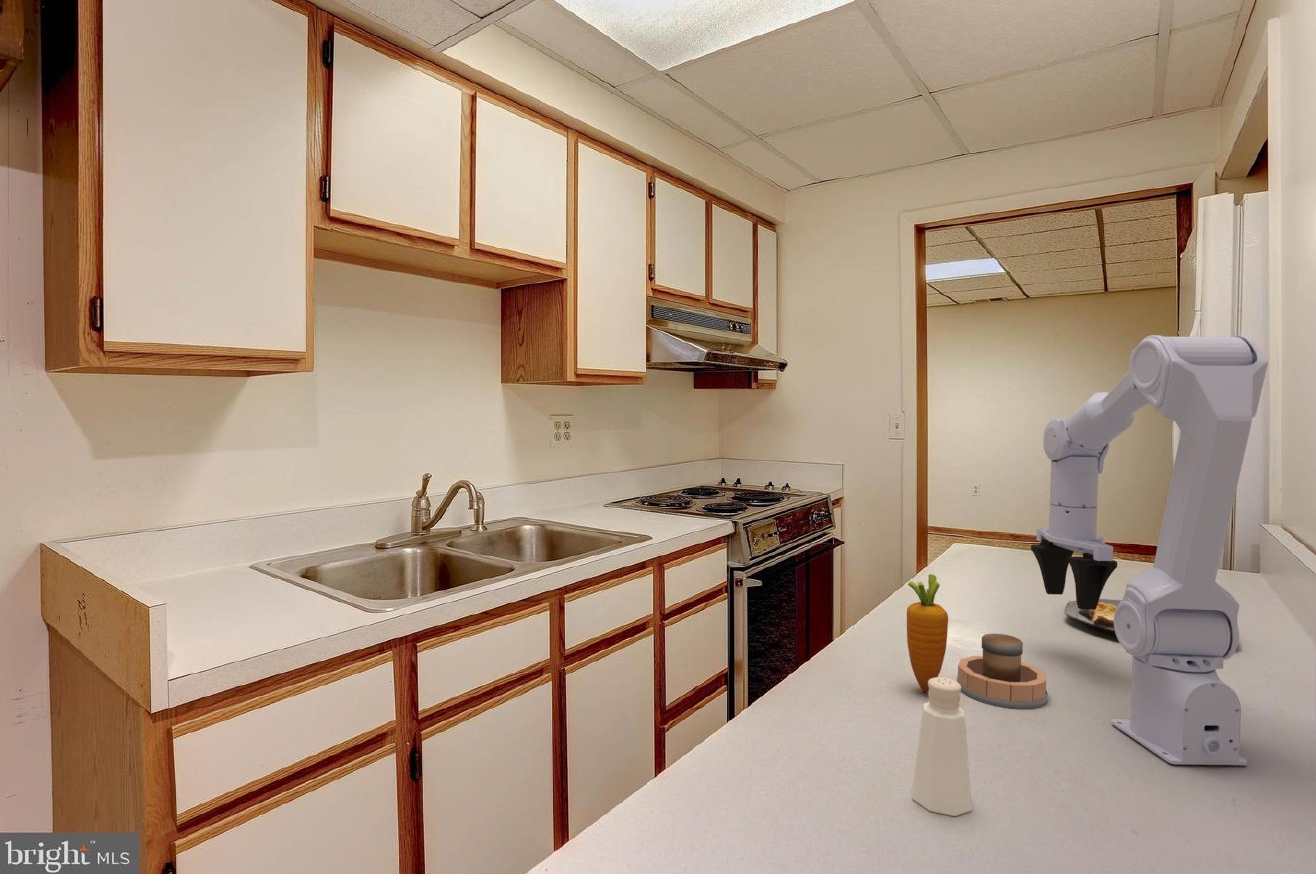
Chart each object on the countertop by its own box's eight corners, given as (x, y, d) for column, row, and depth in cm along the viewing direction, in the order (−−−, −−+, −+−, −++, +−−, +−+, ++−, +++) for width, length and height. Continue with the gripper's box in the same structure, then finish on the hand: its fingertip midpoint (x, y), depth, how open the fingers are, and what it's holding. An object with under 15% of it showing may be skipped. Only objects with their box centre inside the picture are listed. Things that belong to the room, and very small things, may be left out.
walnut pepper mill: (1030, 691, 86) (1031, 643, 86) (997, 694, 85) (999, 646, 85) (1003, 676, 91) (1004, 632, 90) (972, 679, 90) (973, 634, 89)
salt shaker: (956, 783, 66) (959, 670, 65) (985, 816, 60) (988, 693, 60) (900, 784, 65) (903, 670, 65) (924, 817, 60) (928, 694, 60)
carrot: (920, 702, 84) (923, 581, 84) (896, 686, 89) (899, 572, 88) (954, 698, 86) (958, 579, 85) (929, 682, 90) (932, 570, 90)
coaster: (1065, 709, 83) (1066, 686, 83) (979, 708, 83) (980, 685, 83) (1019, 676, 93) (1020, 656, 93) (943, 675, 93) (944, 655, 93)
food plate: (1243, 665, 98) (1243, 641, 98) (1056, 634, 112) (1056, 612, 112) (1231, 628, 118) (1232, 608, 118) (1074, 605, 132) (1074, 587, 132)
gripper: (1137, 513, 89) (1134, 616, 89) (1070, 499, 103) (1067, 588, 104) (1083, 512, 89) (1080, 616, 89) (1023, 498, 103) (1021, 587, 104)
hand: (1070, 601), depth 96 cm, fingers open, 7 cm apart
